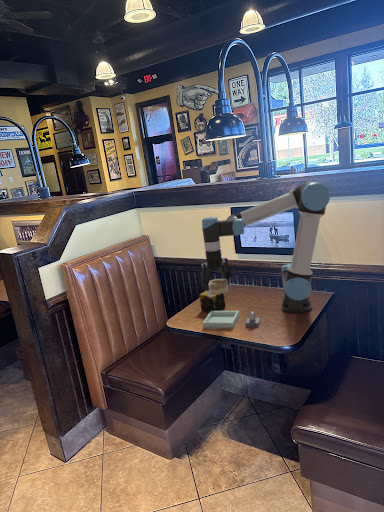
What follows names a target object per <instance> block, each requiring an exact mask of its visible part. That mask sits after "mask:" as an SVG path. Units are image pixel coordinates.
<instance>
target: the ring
mask: <svg viewBox="0 0 384 512" xmlns="http://www.w3.org/2000/svg"><path fill="white" fill-rule="evenodd" d="M224 279H225V278H214V279H210V281H209V284H210V286H211V294H212V295H217V294H223V293H224V294H225V293H228V292H227V281H226V280H224Z"/></svg>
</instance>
